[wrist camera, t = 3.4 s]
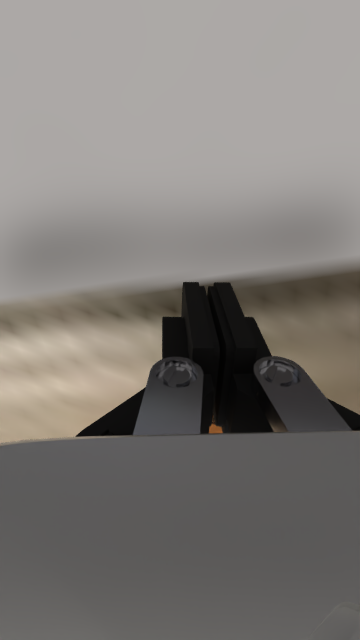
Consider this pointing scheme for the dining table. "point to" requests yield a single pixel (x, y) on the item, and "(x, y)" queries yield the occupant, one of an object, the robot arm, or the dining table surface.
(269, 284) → the dining table surface
